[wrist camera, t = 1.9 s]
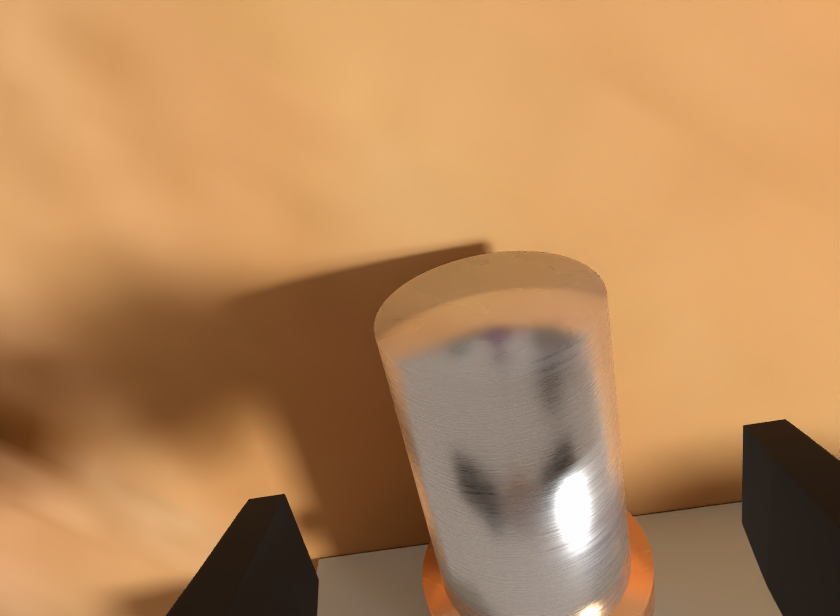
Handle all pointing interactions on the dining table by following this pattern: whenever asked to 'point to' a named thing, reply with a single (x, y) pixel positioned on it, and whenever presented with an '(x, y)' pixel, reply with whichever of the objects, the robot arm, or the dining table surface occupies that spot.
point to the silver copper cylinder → (515, 438)
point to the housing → (672, 562)
